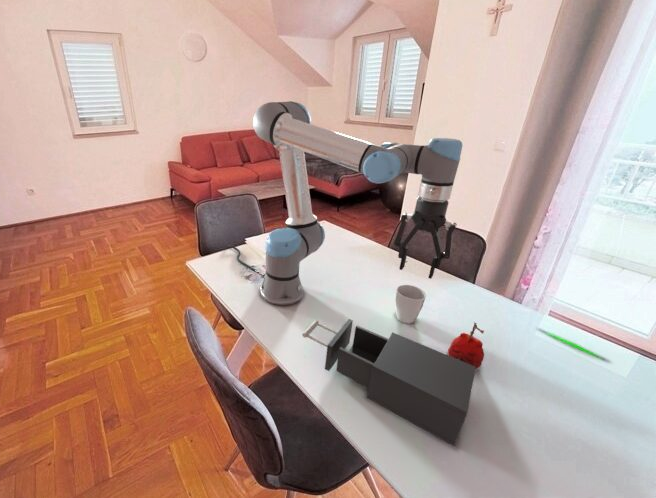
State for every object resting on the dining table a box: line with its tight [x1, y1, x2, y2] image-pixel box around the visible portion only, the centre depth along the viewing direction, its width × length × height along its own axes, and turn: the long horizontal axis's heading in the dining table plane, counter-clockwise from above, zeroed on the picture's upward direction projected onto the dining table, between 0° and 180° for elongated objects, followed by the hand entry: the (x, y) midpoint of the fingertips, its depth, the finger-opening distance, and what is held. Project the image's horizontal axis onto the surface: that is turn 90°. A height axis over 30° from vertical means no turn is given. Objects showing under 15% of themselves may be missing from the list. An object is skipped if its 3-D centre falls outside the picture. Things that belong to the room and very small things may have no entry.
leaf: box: [542, 330, 604, 360], centre depth 89 cm, size 1×14×1 cm, turn 34°
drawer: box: [302, 318, 389, 389], centre depth 81 cm, size 25×13×8 cm, turn 51°
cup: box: [395, 284, 427, 324], centre depth 98 cm, size 8×8×10 cm
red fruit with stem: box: [447, 321, 485, 371], centre depth 80 cm, size 8×7×15 cm
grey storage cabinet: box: [366, 332, 477, 447], centre depth 71 cm, size 18×14×10 cm
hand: (415, 272), depth 93 cm, fingers open, 7 cm apart
